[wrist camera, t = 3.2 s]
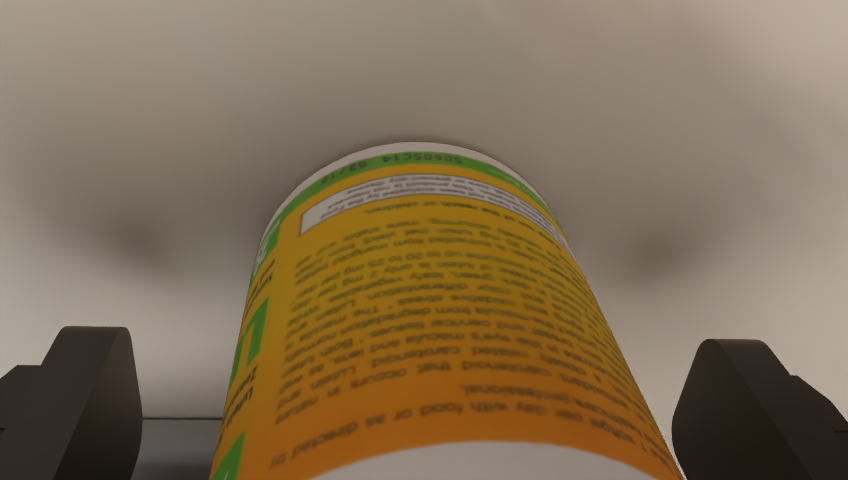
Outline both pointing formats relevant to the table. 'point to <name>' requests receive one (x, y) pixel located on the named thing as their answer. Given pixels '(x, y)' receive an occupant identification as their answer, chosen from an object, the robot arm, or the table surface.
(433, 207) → the supplement bottle
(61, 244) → the table surface
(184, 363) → the table surface
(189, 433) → the rail
